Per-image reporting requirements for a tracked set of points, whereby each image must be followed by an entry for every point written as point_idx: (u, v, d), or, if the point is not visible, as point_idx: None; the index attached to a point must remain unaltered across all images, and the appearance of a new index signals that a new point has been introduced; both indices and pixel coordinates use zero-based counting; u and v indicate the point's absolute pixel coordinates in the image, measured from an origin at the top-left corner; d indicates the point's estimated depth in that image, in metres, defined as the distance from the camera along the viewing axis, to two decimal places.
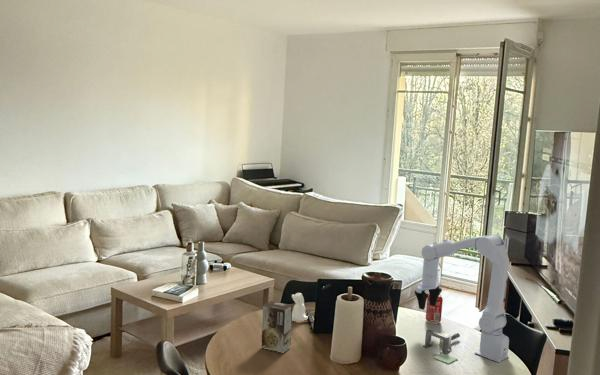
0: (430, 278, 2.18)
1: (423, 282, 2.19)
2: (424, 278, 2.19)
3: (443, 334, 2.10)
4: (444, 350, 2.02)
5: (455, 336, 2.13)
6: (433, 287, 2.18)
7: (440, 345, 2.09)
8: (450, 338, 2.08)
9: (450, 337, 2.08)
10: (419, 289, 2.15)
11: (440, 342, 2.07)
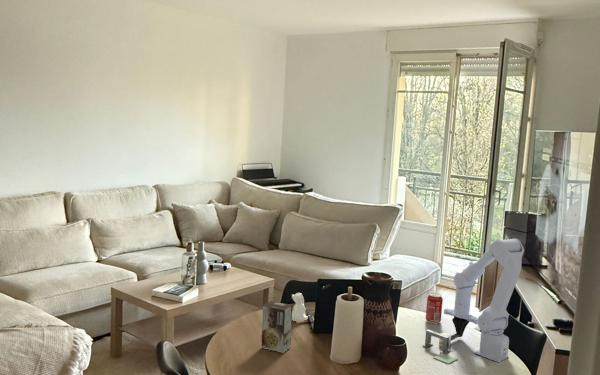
0: (455, 304, 2.15)
1: None
2: None
3: (442, 334, 2.10)
4: (444, 350, 2.02)
5: (455, 336, 2.13)
6: (455, 314, 2.14)
7: (439, 345, 2.09)
8: (449, 338, 2.07)
9: (449, 337, 2.07)
10: None
11: (439, 342, 2.07)
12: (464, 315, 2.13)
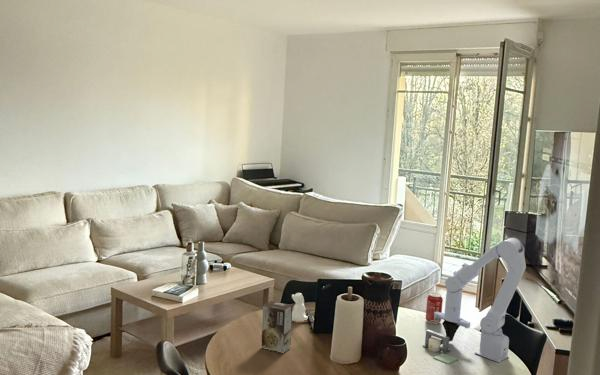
0: (445, 308, 2.11)
1: None
2: None
3: (432, 338, 2.05)
4: (444, 350, 2.02)
5: None
6: (445, 318, 2.09)
7: (429, 349, 2.04)
8: (439, 342, 2.03)
9: (439, 341, 2.03)
10: None
11: (429, 346, 2.02)
12: (454, 319, 2.08)
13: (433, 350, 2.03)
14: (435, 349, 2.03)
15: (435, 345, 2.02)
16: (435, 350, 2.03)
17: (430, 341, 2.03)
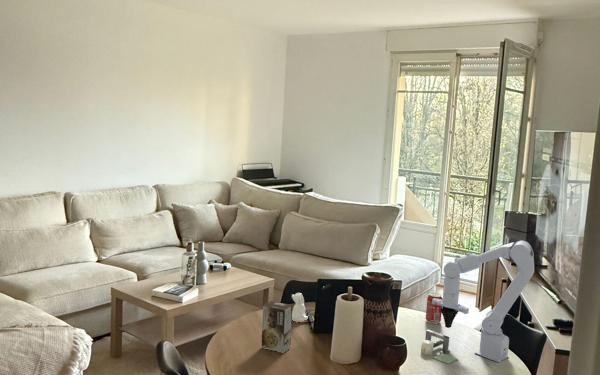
0: (443, 294, 2.08)
1: None
2: None
3: (425, 341, 2.02)
4: (444, 350, 2.02)
5: (438, 343, 2.05)
6: (443, 304, 2.07)
7: (422, 352, 2.01)
8: (432, 345, 2.00)
9: (432, 344, 2.00)
10: None
11: (421, 349, 1.99)
12: (453, 305, 2.05)
13: (426, 353, 2.00)
14: (427, 352, 2.00)
15: (428, 348, 1.99)
16: (428, 353, 2.00)
17: (423, 344, 2.00)
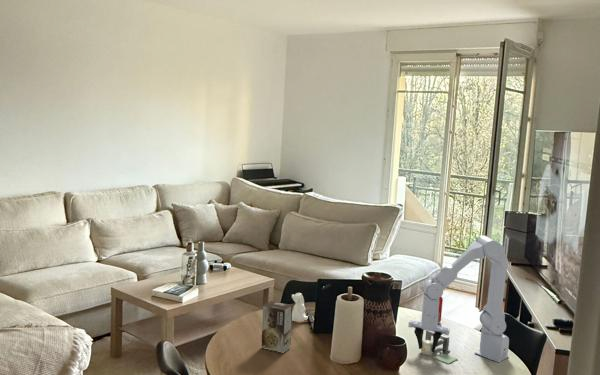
0: (422, 316, 1.99)
1: None
2: None
3: (425, 341, 2.02)
4: (444, 350, 2.02)
5: (438, 343, 2.05)
6: (424, 327, 1.98)
7: (422, 352, 2.01)
8: (432, 345, 2.00)
9: (432, 344, 2.00)
10: (409, 323, 2.03)
11: (421, 349, 1.99)
12: (434, 327, 1.97)
13: (426, 353, 2.00)
14: (428, 352, 2.00)
15: (428, 348, 1.99)
16: (428, 353, 2.00)
17: (423, 344, 2.00)
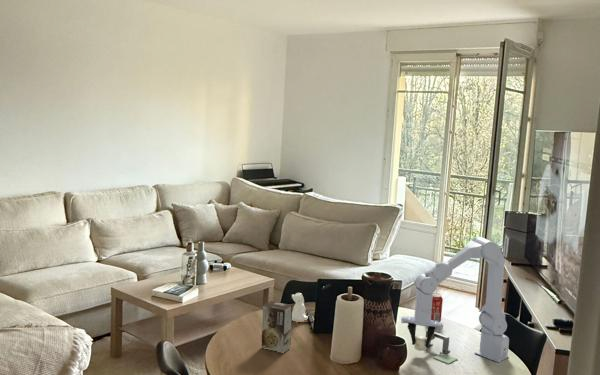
0: (416, 311, 1.95)
1: None
2: None
3: (418, 336, 1.98)
4: (444, 350, 2.02)
5: None
6: (418, 322, 1.94)
7: (415, 348, 1.97)
8: (426, 341, 1.96)
9: (426, 339, 1.96)
10: None
11: (415, 345, 1.96)
12: (428, 322, 1.94)
13: (420, 349, 1.96)
14: (422, 348, 1.96)
15: (422, 344, 1.96)
16: (422, 349, 1.96)
17: (416, 340, 1.97)
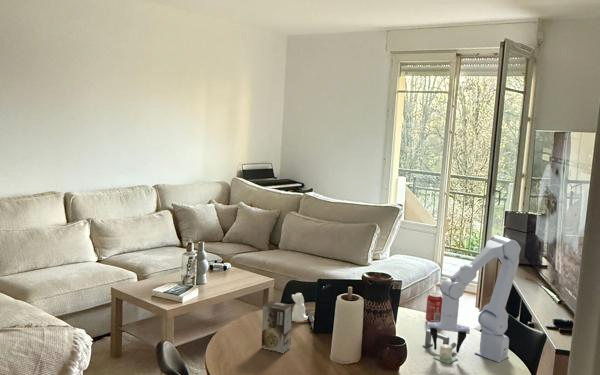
0: (443, 317, 1.94)
1: None
2: None
3: (443, 346, 1.97)
4: None
5: (453, 346, 2.02)
6: (445, 328, 1.93)
7: (441, 358, 1.96)
8: None
9: (452, 348, 1.96)
10: None
11: (442, 355, 1.95)
12: (455, 326, 1.93)
13: (446, 358, 1.95)
14: (448, 357, 1.95)
15: (448, 353, 1.95)
16: (448, 358, 1.95)
17: (443, 349, 1.96)
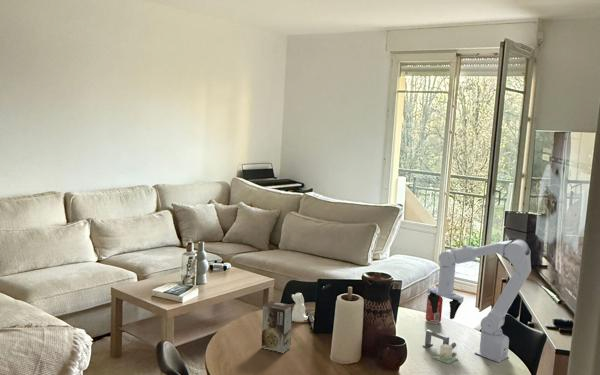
0: (438, 283, 2.11)
1: None
2: None
3: (443, 346, 1.97)
4: None
5: (453, 346, 2.02)
6: (439, 293, 2.10)
7: (441, 358, 1.96)
8: None
9: (452, 348, 1.96)
10: None
11: (442, 355, 1.95)
12: (448, 293, 2.08)
13: (446, 358, 1.95)
14: (448, 357, 1.95)
15: (448, 353, 1.95)
16: (448, 358, 1.95)
17: (443, 349, 1.96)
